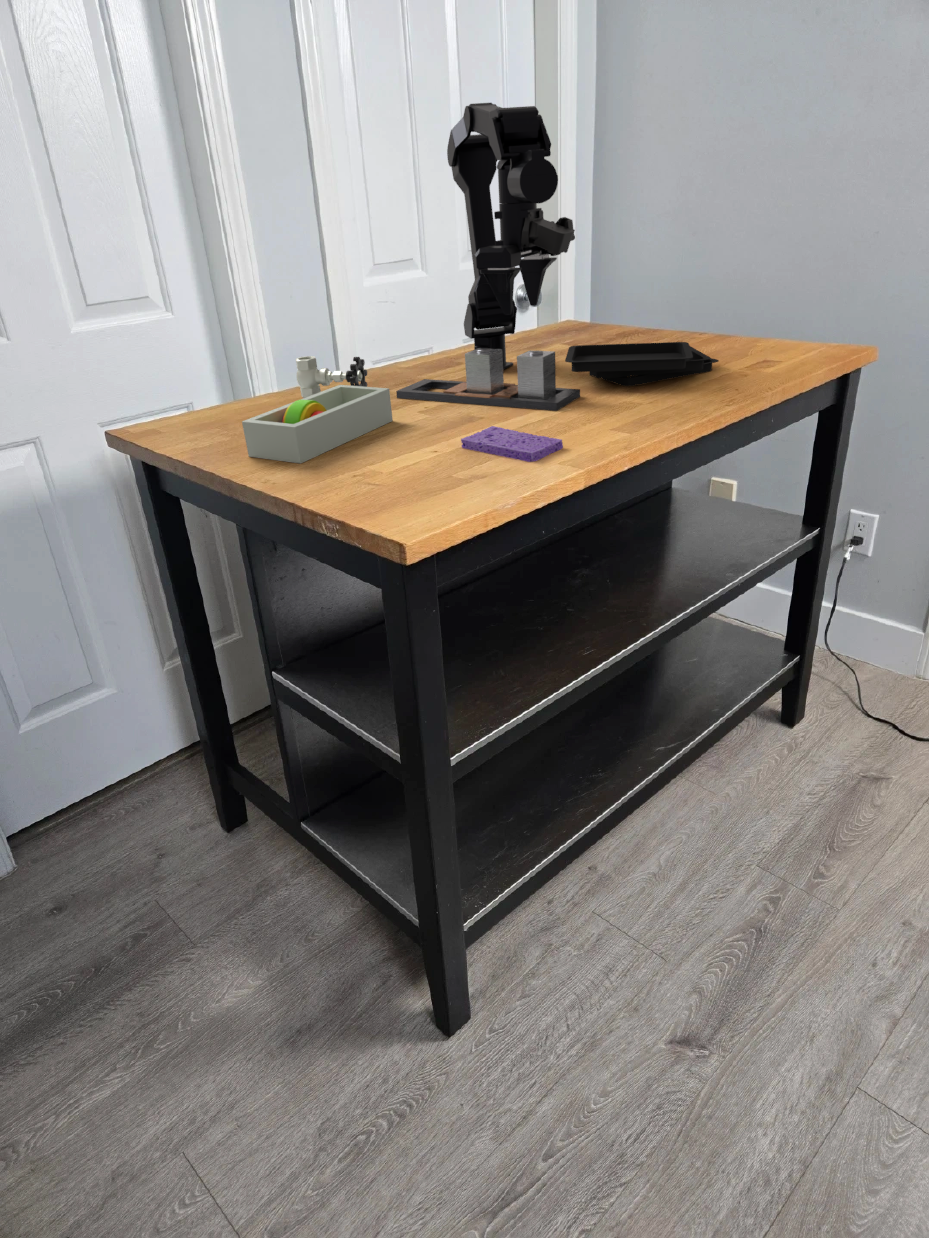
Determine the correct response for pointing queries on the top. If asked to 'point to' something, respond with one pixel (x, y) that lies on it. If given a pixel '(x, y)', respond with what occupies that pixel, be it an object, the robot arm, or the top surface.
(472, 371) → the knobbed block
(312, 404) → the green arched piece
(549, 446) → the sponges
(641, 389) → the top surface
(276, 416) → the box
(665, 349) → the tray
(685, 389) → the top surface
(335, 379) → the valve
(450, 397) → the rail
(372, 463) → the top surface
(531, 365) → the grey metal block
